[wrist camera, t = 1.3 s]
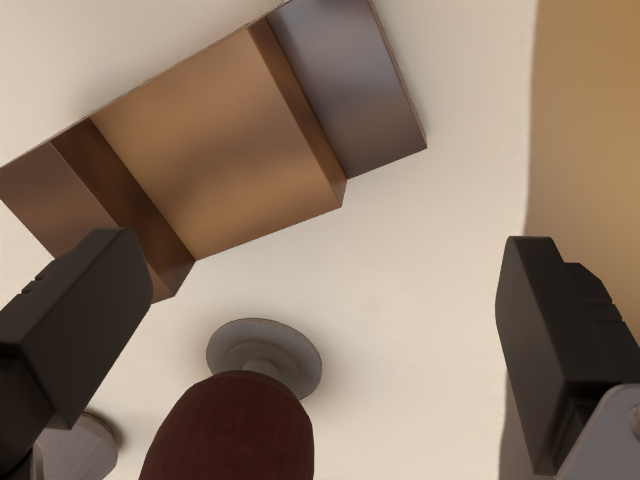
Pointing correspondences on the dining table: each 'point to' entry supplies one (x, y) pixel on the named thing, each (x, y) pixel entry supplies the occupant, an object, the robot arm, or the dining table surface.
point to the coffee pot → (79, 451)
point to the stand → (226, 141)
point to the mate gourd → (243, 410)
